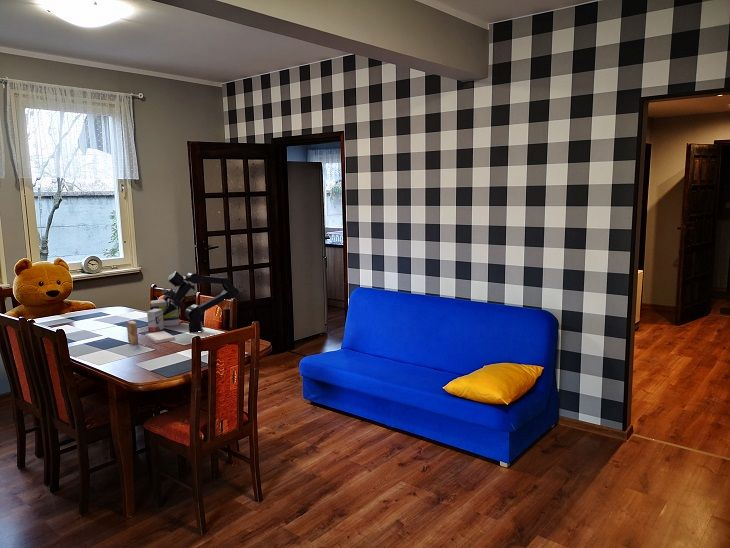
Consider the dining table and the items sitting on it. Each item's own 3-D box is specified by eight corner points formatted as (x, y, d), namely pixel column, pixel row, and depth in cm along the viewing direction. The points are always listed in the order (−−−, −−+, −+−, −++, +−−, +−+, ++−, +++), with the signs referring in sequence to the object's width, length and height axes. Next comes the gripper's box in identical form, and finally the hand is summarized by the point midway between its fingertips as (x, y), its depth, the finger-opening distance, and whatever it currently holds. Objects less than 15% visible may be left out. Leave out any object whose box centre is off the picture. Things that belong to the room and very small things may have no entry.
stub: (134, 340, 292) (132, 320, 290) (138, 343, 287) (136, 322, 285) (128, 341, 290) (126, 321, 288) (132, 344, 285) (130, 323, 283)
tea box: (179, 321, 334) (177, 297, 331) (179, 325, 324) (177, 301, 322) (152, 324, 329) (150, 299, 327) (151, 328, 320) (149, 303, 317)
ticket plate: (164, 333, 307) (163, 330, 307) (175, 339, 294) (174, 336, 294) (145, 336, 301) (145, 334, 300) (156, 343, 288) (155, 340, 287)
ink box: (155, 332, 310) (154, 311, 308) (148, 332, 311) (146, 311, 309) (164, 328, 318) (162, 308, 316) (156, 328, 319) (155, 308, 317)
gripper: (164, 280, 305) (146, 303, 300) (176, 285, 290) (157, 309, 285) (179, 292, 311) (161, 315, 306) (192, 297, 296) (173, 321, 291)
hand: (163, 314), depth 297 cm, fingers closed
